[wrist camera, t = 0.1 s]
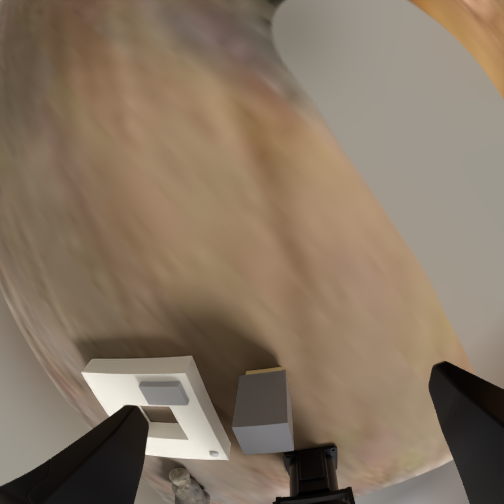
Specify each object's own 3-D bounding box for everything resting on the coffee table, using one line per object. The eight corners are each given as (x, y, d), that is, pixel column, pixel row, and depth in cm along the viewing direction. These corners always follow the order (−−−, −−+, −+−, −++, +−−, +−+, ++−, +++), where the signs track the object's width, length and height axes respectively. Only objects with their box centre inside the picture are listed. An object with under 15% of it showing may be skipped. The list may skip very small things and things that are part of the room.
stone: (171, 457, 32) (142, 489, 28) (190, 479, 28) (157, 513, 24) (212, 472, 37) (186, 501, 33) (232, 490, 32) (203, 520, 29)
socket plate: (230, 443, 28) (227, 464, 25) (143, 439, 29) (135, 457, 26) (192, 355, 24) (183, 378, 21) (92, 358, 26) (77, 376, 23)
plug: (291, 393, 25) (294, 450, 18) (250, 397, 25) (244, 454, 19) (285, 362, 24) (287, 422, 17) (240, 368, 24) (231, 427, 18)
